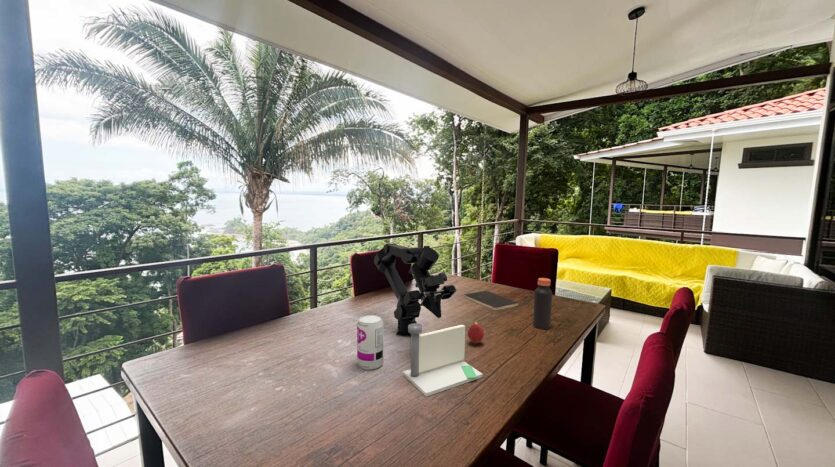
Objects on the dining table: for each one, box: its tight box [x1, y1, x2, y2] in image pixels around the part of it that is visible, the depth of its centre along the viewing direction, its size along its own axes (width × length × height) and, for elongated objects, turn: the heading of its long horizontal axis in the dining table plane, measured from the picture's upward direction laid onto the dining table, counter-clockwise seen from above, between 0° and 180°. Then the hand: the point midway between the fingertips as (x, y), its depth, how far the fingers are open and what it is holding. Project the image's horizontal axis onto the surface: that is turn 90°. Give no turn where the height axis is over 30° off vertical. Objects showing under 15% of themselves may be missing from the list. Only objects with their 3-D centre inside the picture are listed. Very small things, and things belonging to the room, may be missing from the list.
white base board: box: [402, 359, 484, 397], centre depth 103 cm, size 20×14×1 cm
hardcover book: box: [464, 290, 520, 311], centre depth 174 cm, size 16×23×2 cm
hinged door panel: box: [408, 322, 466, 377], centre depth 104 cm, size 20×4×15 cm, turn 121°
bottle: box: [532, 277, 553, 330], centre depth 141 cm, size 7×7×20 cm
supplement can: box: [356, 314, 384, 371], centre depth 108 cm, size 8×8×15 cm
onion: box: [467, 321, 485, 345], centre depth 125 cm, size 6×6×8 cm
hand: (439, 317), depth 113 cm, fingers closed
